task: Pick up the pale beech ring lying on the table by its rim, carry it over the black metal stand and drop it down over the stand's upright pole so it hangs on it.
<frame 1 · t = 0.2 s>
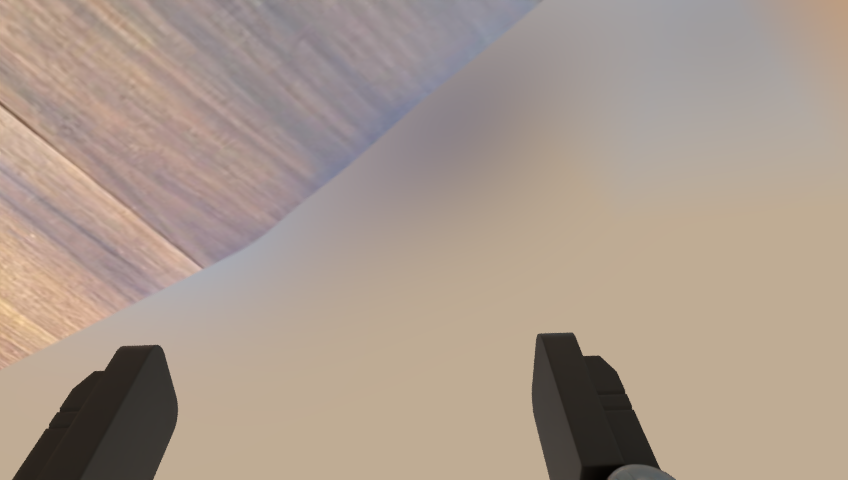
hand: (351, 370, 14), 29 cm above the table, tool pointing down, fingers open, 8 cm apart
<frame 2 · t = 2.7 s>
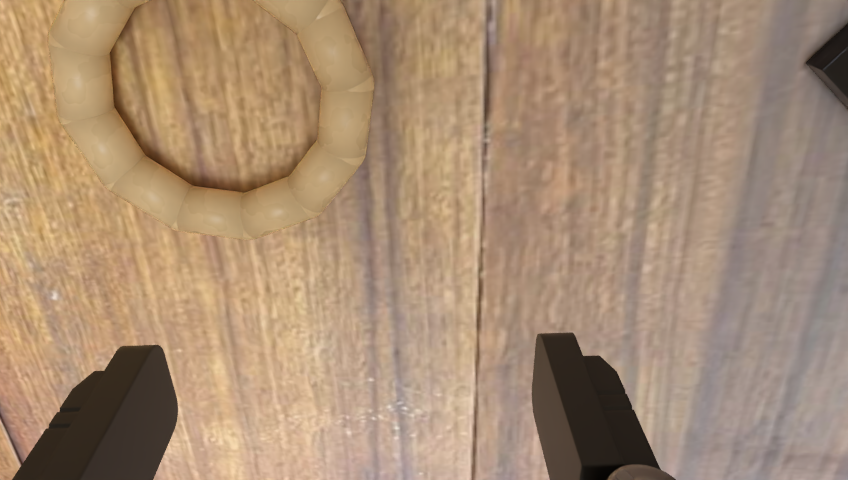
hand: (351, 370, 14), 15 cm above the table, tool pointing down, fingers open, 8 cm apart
ring: (216, 98, 24), point 1 cm above the table
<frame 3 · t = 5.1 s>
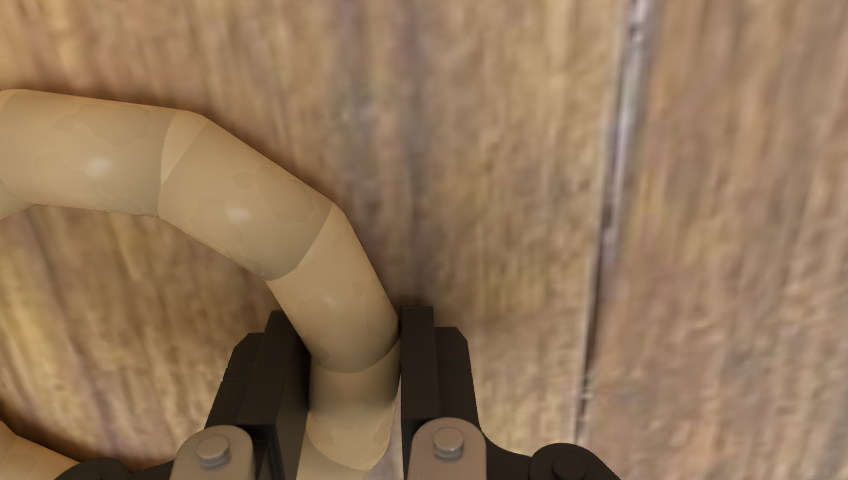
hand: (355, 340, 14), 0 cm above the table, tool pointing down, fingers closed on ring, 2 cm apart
ring: (125, 368, 14), point 1 cm above the table, touching gripper
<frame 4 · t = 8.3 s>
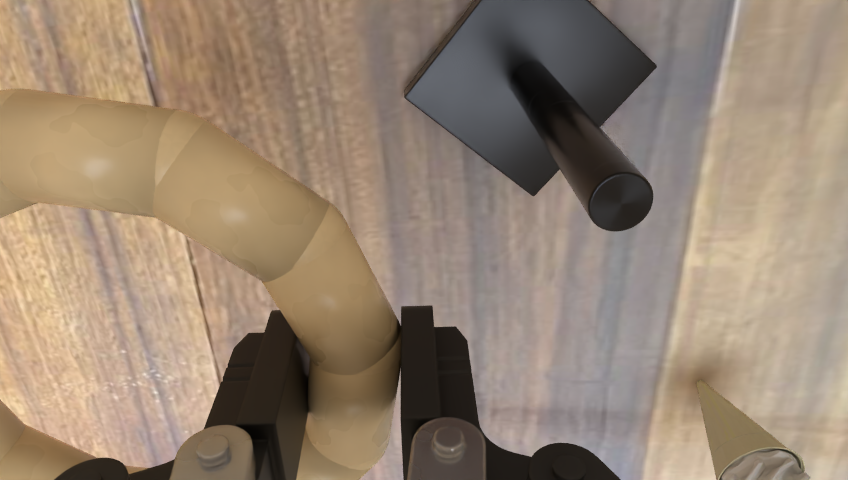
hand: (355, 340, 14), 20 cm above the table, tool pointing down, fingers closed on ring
post: (526, 76, 32), on the table
ring: (127, 363, 14), point 21 cm above the table, touching gripper
ice cream cone: (698, 381, 43), on the table
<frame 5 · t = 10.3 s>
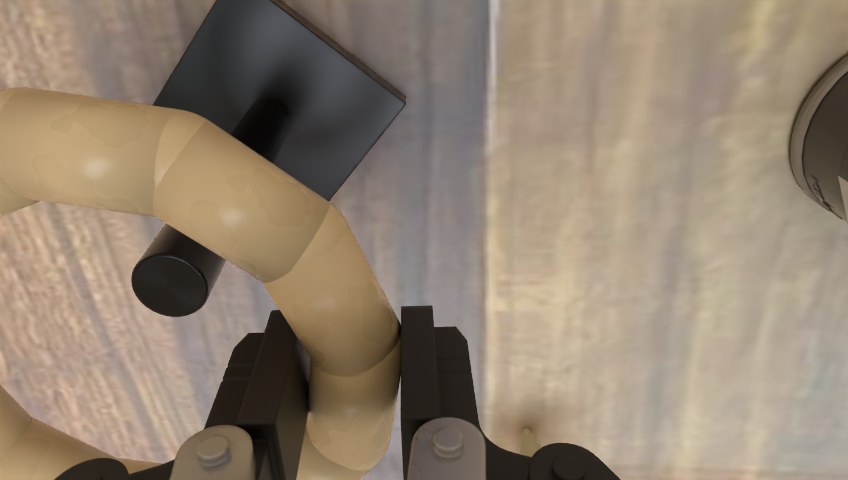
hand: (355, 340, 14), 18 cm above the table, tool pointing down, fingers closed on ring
post: (273, 112, 30), on the table
ring: (130, 360, 14), point 18 cm above the table, touching gripper
ice cream cone: (525, 428, 41), on the table
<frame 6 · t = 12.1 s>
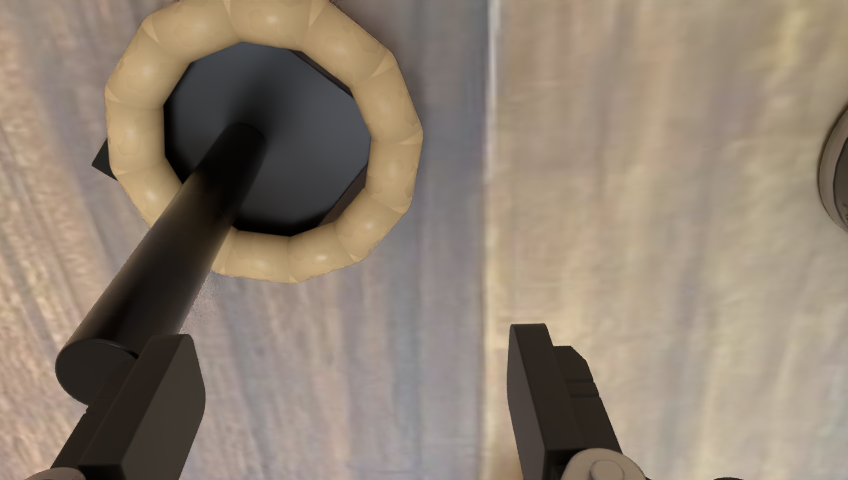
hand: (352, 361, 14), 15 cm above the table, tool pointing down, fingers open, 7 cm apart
post: (248, 137, 27), on the table
ring: (267, 148, 25), point 2 cm above the table, touching post
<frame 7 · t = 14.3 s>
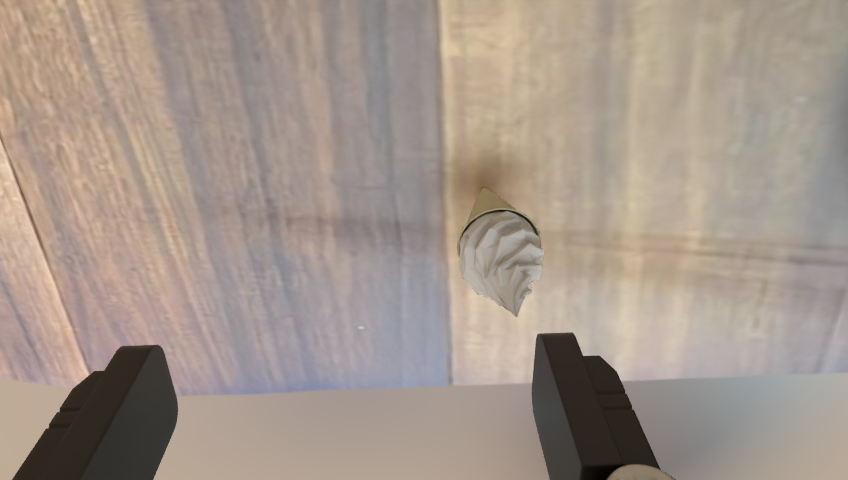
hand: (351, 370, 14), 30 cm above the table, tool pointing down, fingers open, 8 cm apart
ice cream cone: (484, 189, 45), on the table
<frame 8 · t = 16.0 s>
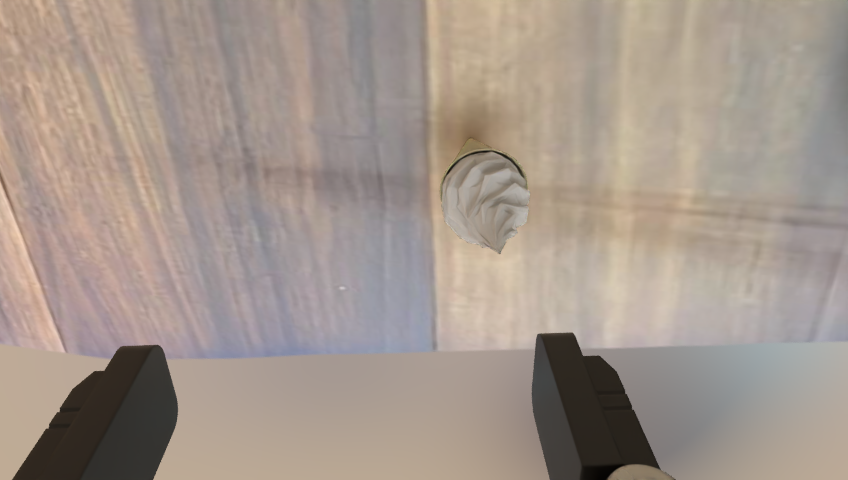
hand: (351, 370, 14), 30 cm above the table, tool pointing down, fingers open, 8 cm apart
ice cream cone: (470, 140, 43), on the table
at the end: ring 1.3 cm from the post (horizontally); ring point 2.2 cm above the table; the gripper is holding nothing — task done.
